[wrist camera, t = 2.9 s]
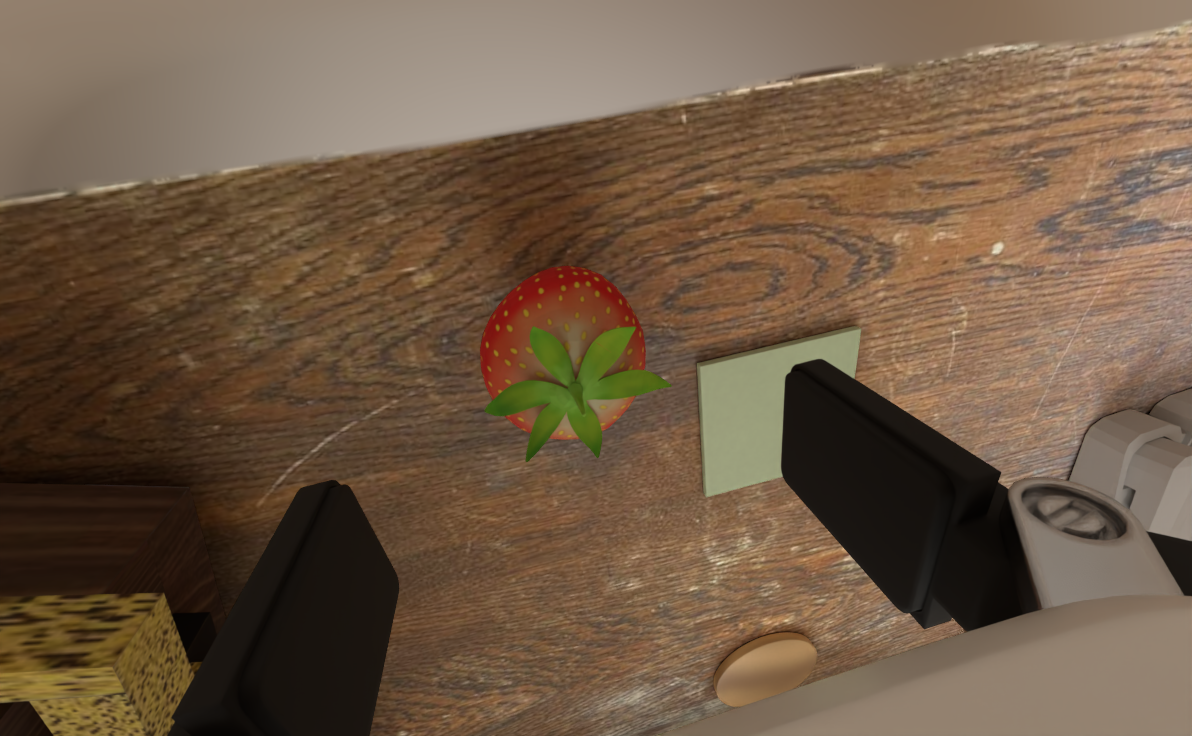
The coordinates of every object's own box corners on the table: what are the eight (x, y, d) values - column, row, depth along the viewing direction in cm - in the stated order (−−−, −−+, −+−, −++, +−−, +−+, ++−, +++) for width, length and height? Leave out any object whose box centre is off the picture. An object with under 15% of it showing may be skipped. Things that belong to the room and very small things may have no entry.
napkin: (696, 362, 21) (699, 366, 20) (856, 325, 21) (862, 328, 21) (703, 492, 24) (706, 497, 24) (838, 456, 25) (843, 460, 25)
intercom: (1060, 705, 36) (1181, 464, 24) (1005, 651, 40) (1088, 422, 28) (1201, 650, 37) (1382, 395, 25) (1135, 603, 41) (1266, 363, 29)
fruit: (606, 368, 20) (666, 494, 13) (484, 369, 19) (477, 506, 12) (620, 244, 18) (703, 314, 10) (481, 236, 16) (472, 308, 9)
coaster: (711, 651, 31) (715, 660, 31) (817, 619, 32) (822, 627, 32) (714, 710, 35) (717, 719, 35) (808, 680, 36) (813, 688, 36)
